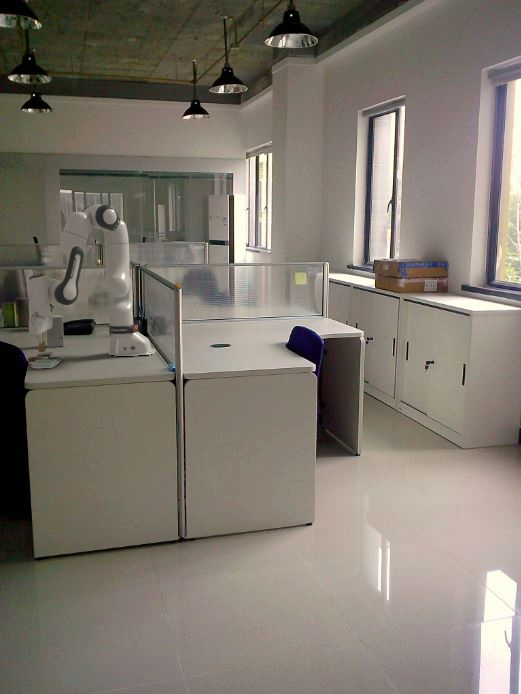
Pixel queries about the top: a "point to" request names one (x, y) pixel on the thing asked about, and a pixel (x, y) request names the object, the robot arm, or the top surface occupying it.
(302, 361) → the top surface
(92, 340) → the top surface
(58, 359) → the socket
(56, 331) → the skincare box
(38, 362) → the tray
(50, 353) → the steel block
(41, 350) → the dowel
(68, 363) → the top surface
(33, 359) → the block
